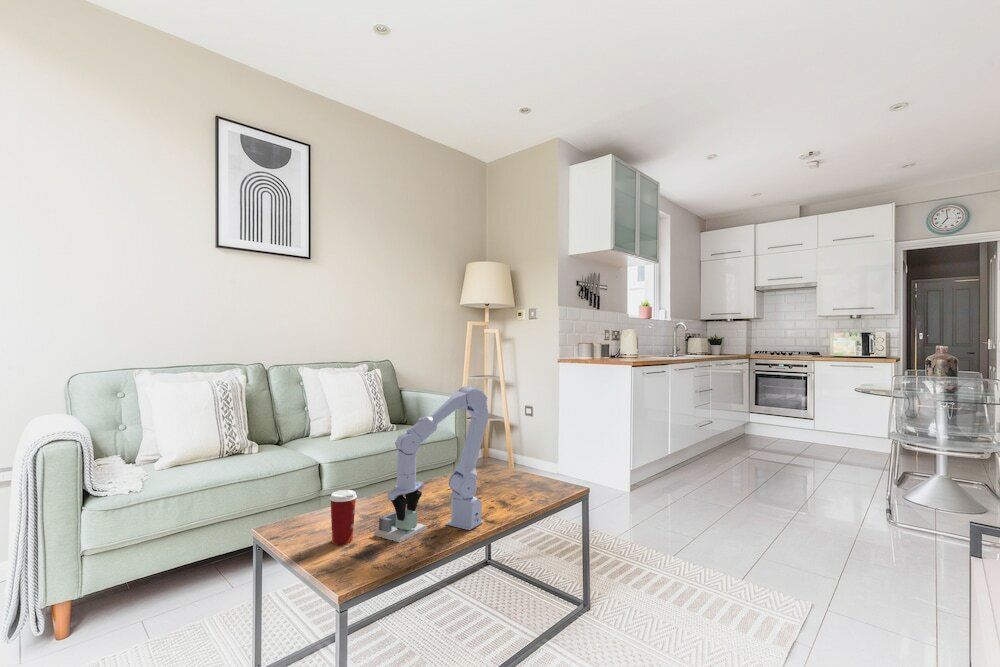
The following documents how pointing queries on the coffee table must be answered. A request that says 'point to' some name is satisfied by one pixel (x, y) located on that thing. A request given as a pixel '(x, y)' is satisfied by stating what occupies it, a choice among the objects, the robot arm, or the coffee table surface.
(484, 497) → the coffee table surface
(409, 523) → the pale green block
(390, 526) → the dock
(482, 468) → the coffee table surface
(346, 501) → the paper cup
